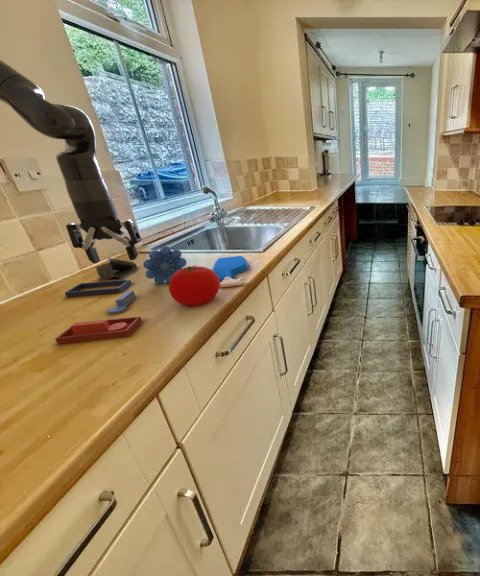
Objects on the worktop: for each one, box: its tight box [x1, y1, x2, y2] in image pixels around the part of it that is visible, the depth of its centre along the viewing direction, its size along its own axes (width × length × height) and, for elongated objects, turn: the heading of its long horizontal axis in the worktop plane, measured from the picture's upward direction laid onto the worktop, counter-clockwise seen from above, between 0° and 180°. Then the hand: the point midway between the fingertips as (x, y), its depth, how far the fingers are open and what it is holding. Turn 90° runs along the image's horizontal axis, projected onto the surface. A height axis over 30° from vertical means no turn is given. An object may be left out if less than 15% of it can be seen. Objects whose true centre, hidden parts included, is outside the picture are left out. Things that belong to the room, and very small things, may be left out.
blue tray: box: [64, 278, 132, 298], centre depth 95 cm, size 14×7×2 cm, turn 103°
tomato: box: [168, 264, 221, 307], centre depth 87 cm, size 11×12×10 cm
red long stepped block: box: [70, 319, 129, 336], centre depth 73 cm, size 10×4×3 cm, turn 103°
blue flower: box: [142, 246, 187, 285], centre depth 100 cm, size 12×7×12 cm, turn 115°
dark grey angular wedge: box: [95, 257, 139, 281], centre depth 106 cm, size 10×7×12 cm
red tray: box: [54, 315, 143, 345], centre depth 73 cm, size 14×7×2 cm, turn 103°
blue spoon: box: [108, 289, 137, 315], centre depth 86 cm, size 10×4×3 cm, turn 13°
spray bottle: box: [212, 255, 249, 288], centre depth 107 cm, size 3×11×25 cm
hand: (115, 260), depth 84 cm, fingers open, 8 cm apart
